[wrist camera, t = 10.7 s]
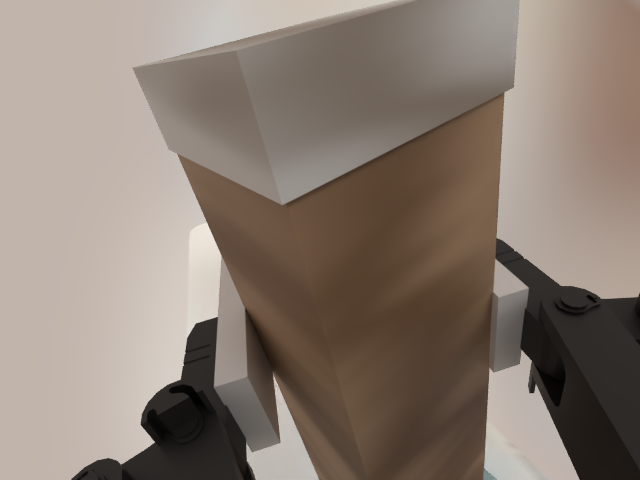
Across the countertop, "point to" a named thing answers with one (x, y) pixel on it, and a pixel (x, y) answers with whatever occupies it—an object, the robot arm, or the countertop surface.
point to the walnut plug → (359, 218)
